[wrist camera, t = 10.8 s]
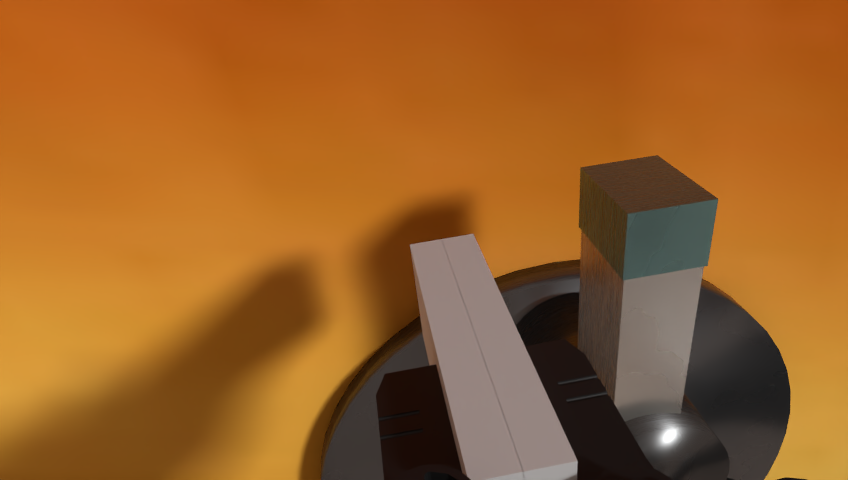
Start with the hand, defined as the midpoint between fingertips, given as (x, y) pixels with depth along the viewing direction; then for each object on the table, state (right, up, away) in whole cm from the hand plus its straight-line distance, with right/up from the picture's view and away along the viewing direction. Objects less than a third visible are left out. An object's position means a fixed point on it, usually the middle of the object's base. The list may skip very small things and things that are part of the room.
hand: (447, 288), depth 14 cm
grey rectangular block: (+4, 0, +5) cm, 7 cm away
